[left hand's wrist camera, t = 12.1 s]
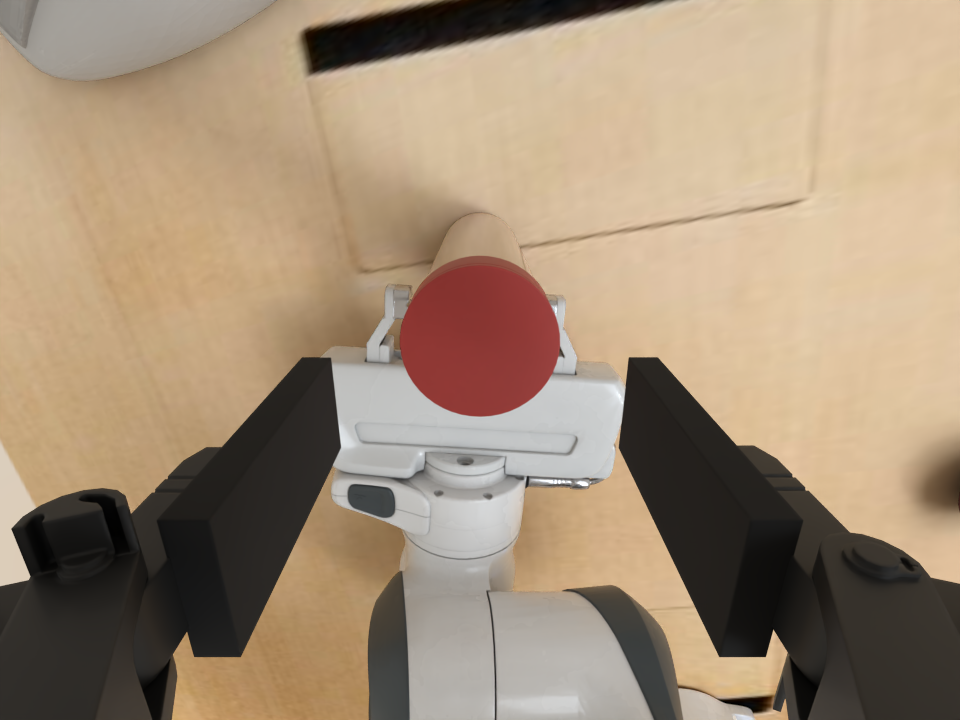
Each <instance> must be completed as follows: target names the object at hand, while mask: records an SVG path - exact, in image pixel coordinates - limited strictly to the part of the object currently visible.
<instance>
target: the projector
mask: <svg viewBox="0 0 960 720" xmlns="http://www.w3.org/2000/svg"><path fill="white" fill-rule="evenodd" d="M275 1H277V0H0V32H1V33H2V34H3V35H4V36H5V38H6V39H7V40H8V41H9V42H10V43H11V44H12V45H13V46H14V47H15V49H16V50H17V51H18V52H19V53H20V54H21V55H22V56H23V57H24V58H25V59H26V60H27V61H29V62H30V63H31V64H32V65H34V66H35V67H36V68H37V69H39V70H40V71H42V72H44V73H46V74H48V75H50V76H54V77H57V78H61V79H67V80H73V81H93V80H101V79H106V78H112V77H116V76H120V75H124V74H128V73H132V72H135V71H139V70H142V69H145V68H148V67H151V66H154V65H157V64H160V63H163V62H166V61H168V60H171V59H173V58H176V57H178V56H181V55H183V54H185V53H188V52H190V51H192V50H194V49H196V48H199V47H201V46H203V45H205V44H207V43H209V42H211V41H213V40H215V39H216V38H218V37H220V36H222V35H224V34H225V33H227V32H229V31H231V30H232V29H234V28H236V27H237V26H239V25H241V24H242V23H244V22H246V21H247V20H249V19H250V18H252V17H253V16H255V15H256V14H258V13H259V12H261V11H262V10H264V9H265V8H267V7H268V6H270V5H271V4H272V3H274V2H275Z"/></svg>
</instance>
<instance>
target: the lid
mask: <svg viewBox="0 0 960 720" xmlns="http://www.w3.org/2000/svg"><path fill="white" fill-rule="evenodd" d="M400 350H401V357H402V360H403V364H404V366H405V369H406V371H407V373H408V375H409V377H410V379H411V380H412V382H413V383H414V385H415V386H416V387H417V388H418V390H419V391H420V392H421V393H422V394H423V395H424V396H425V397H427V398H428V399H429V400H431V401H432V402H433V403H435V404H436V405H438V406H440V407H442V408H444V409H446V410H448V411H451V412H454V413H457V414H461V415H466V416H475V417H485V416H494V415H499V414H503V413H506V412H509V411H512V410H514V409H516V408H518V407H520V406H522V405H523V404H525V403H527V402H528V401H529V400H531V399H532V398H533V397H535V396H536V395H537V394H538V393H539V392H540V391H541V390H542V388H543V387H544V386H545V384H546V383H547V382H548V380H549V379H550V377H551V375H552V373H553V371H554V369H555V366H556V364H557V360H558V356H559V350H560V332H559V325H558V322H557V319H556V315H555V313H554V311H553V309H552V307H551V305H550V302H549V300H548V298H547V296H546V294H545V292H544V291H543V289H542V288H541V286H540V285H539V284H538V282H537V281H536V280H535V279H534V278H533V277H532V276H531V275H530V274H529V273H528V272H526V271H525V270H524V269H522V268H521V267H519V266H518V265H516V264H514V263H511V262H509V261H507V260H504V259H501V258H496V257H491V256H468V257H464V258H459V259H456V260H453V261H451V262H448V263H446V264H444V265H443V266H441V267H439V268H438V269H436V270H435V271H433V272H432V273H431V274H430V275H429V276H428V277H427V278H426V279H425V280H424V281H423V282H422V284H421V285H420V286H419V288H418V289H417V291H416V292H415V294H414V296H413V298H412V300H411V302H410V304H409V306H408V309H407V311H406V313H405V315H404V318H403V322H402V325H401V332H400Z"/></svg>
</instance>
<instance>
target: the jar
mask: <svg viewBox="0 0 960 720" xmlns="http://www.w3.org/2000/svg"><path fill="white" fill-rule="evenodd" d="M468 256H491V257H496V258H501V259H504V260H507V261H509V262H511V263H514V264H516V265H518V266H519V267H521V268H522V269H524V270H525V271H526V272H528V273H529V274H530V275H531V276H532V277H533V275H532V273H531V271H530V269H529V267H528V264H527V262H526V260H525V258H524V255H523V253H522V251H521V249H520V247H519V244H518V242H517V240H516V238H515V236H514V233H513V232H512V230H511V228H510V227H509V226H508V225H507V224H506V223H505V222H504V221H503V220H501V219H500V218H498V217H496V216H494V215H491V214H487V213H473V214H469V215H466V216H464V217H462V218H460V219H459V220H457V221H456V222H455V223H454V224H453V225H452V226H451V227H450V228H449V230H448V232H447V233H446V236H445V238H444V240H443V242H442V244H441V247H440V249H439V251H438V253H437V256H436V258H435V260H434V262H433V264H432V267H431V269H430V271H429V273H428V275H427V277H428V276H429V275H430V274H431V273H432V272H433V271H435V270H436V269H438V268H439V267H441V266H443V265H444V264H446V263H448V262H451V261H453V260H456V259H459V258H464V257H468Z"/></svg>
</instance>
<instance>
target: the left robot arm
mask: <svg viewBox="0 0 960 720" xmlns="http://www.w3.org/2000/svg"><path fill="white" fill-rule="evenodd" d="M340 449H341V441H340V432H339V424H338V415H337V406H336V397H335V388H334V379H333V370H332V361H331V357H302V358H301V359H300V361H299V362H298V363H297V364H296V365H295V366H294V367H293V368H292V370H291V371H290V372H289V373H288V374H287V375H286V376H285V377H284V378H283V380H282V381H281V382H280V383H279V384H278V385H277V386H276V387H275V388H274V390H273V391H272V392H271V393H270V394H269V395H268V396H267V397H266V399H265V400H264V401H263V402H262V403H261V404H260V405H259V406H258V407H257V409H256V410H255V411H254V412H253V413H252V414H251V415H250V416H249V418H248V419H247V420H246V421H245V422H244V423H243V424H242V425H241V426H240V428H239V429H238V430H237V431H236V432H235V433H234V434H233V435H232V436H231V438H230V439H229V440H228V441H227V442H226V443H225V444H224V445H223V447H206V448H204V449H203V450H201V451H199V452H198V453H196V454H194V455H192V456H191V457H189V458H187V459H186V460H184V461H183V462H182V463H181V464H180V465H179V466H178V467H177V468H176V469H175V470H174V471H173V472H172V473H171V474H170V475H169V476H168V479H165V480H164V481H163V482H162V483H161V484H160V485H159V486H158V487H157V488H156V489H155V493H151V494H150V495H149V496H148V497H147V498H146V499H145V500H144V501H143V502H142V503H141V504H140V505H139V506H138V507H137V509H136V510H135V511H134V512H133V513H132V514H131V513H130V509H129V506H128V503H127V499H126V496H125V495H123V494H122V493H121V492H119V491H118V490H112V489H104V488H101V489H91V490H83V491H79V492H76V493H72V494H68V495H65V496H61V497H59V498H57V499H54V500H52V501H50V502H47V503H45V504H43V505H41V506H39V507H37V508H36V509H34V510H33V511H31V512H30V513H28V514H26V515H25V516H23V517H22V518H21V519H20V520H19V521H18V522H17V523H16V524H15V526H14V527H13V528H12V532H13V534H14V536H15V539H16V542H17V544H18V546H19V549H20V551H21V554H22V556H23V559H24V561H25V564H26V566H27V569H28V571H29V574H30V576H31V577H30V579H29V580H28V581H23V582H18V583H14V584H9V585H5V586H0V720H172V713H173V705H174V697H175V690H176V682H177V671H176V664H175V661H174V657H173V653H174V651H175V650H176V648H177V647H178V645H179V643H180V642H181V640H182V639H183V637H184V635H185V634H186V632H188V636H189V640H190V643H191V647H192V650H193V654H194V657H241V655H242V653H243V651H244V649H245V647H246V645H247V643H248V641H249V639H250V636H251V634H252V632H253V630H254V628H255V626H256V624H257V622H258V620H259V618H260V616H261V614H262V612H263V609H264V607H265V605H266V603H267V601H268V599H269V597H270V595H271V593H272V591H273V589H274V587H275V584H276V582H277V580H278V578H279V576H280V574H281V572H282V570H283V568H284V566H285V564H286V562H287V560H288V557H289V555H290V553H291V551H292V549H293V547H294V545H295V543H296V541H297V539H298V537H299V535H300V532H301V530H302V528H303V526H304V524H305V522H306V520H307V518H308V516H309V514H310V512H311V510H312V508H313V505H314V503H315V501H316V499H317V497H318V495H319V493H320V491H321V489H322V487H323V485H324V483H325V480H326V478H327V476H328V474H329V472H330V470H331V468H332V466H333V464H334V462H335V460H336V458H337V456H338V453H339V451H340ZM619 449H620V451H621V453H622V456H623V458H624V460H625V462H626V464H627V466H628V468H629V470H630V472H631V474H632V476H633V478H634V480H635V483H636V485H637V487H638V489H639V491H640V493H641V495H642V497H643V499H644V501H645V503H646V505H647V508H648V510H649V512H650V514H651V516H652V518H653V520H654V522H655V524H656V526H657V528H658V530H659V532H660V535H661V537H662V539H663V541H664V543H665V545H666V547H667V549H668V551H669V553H670V555H671V557H672V560H673V562H674V564H675V566H676V568H677V570H678V572H679V574H680V576H681V578H682V580H683V582H684V584H685V587H686V589H687V591H688V593H689V595H690V597H691V599H692V601H693V603H694V605H695V607H696V609H697V612H698V614H699V616H700V618H701V620H702V622H703V624H704V626H705V628H706V630H707V632H708V634H709V636H710V639H711V641H712V643H713V645H714V647H715V649H716V651H717V653H718V655H719V657H766V654H767V650H768V647H769V643H770V640H771V636H772V632H773V629H774V631H775V633H776V634H777V636H778V637H779V639H780V641H781V642H782V644H783V645H784V647H785V649H786V650H787V652H788V654H787V657H786V661H785V664H784V667H783V671H782V674H781V677H780V681H779V684H778V688H777V691H776V694H775V698H774V704H773V709H774V710H777V711H779V712H781V709H782V706H783V703H784V699H786V703H787V711H788V719H789V720H960V584H958V583H953V582H948V581H944V580H939V579H934V578H930V576H929V575H928V573H927V572H926V571H925V570H924V568H923V567H922V566H921V565H920V563H918V562H917V561H916V560H914V559H913V558H912V557H910V556H909V555H908V554H906V553H905V552H904V551H902V550H900V549H898V548H896V547H894V546H892V545H890V544H888V543H886V542H884V541H882V540H879V539H876V538H872V537H869V536H866V535H863V534H856V533H850V532H849V531H848V530H847V529H846V528H845V527H844V526H843V525H842V524H841V523H840V522H839V521H838V520H837V519H836V518H835V517H834V516H833V515H832V514H831V513H830V512H829V511H828V510H827V509H826V508H825V507H824V506H823V505H822V504H821V503H820V502H819V501H818V500H817V499H816V498H815V497H814V496H813V495H812V494H811V493H810V492H809V491H806V490H805V487H804V486H803V485H802V484H801V483H800V482H799V481H798V480H797V479H796V478H793V477H792V474H791V473H790V472H789V471H788V470H787V469H786V468H785V467H784V466H783V465H782V464H781V463H780V462H779V461H778V460H777V459H776V458H774V457H773V456H771V455H769V454H768V453H766V452H764V451H762V450H761V449H759V448H757V447H755V446H737V445H736V444H735V443H734V442H733V441H732V440H731V439H730V438H729V436H728V435H727V434H726V433H725V432H724V431H723V430H722V429H721V428H720V426H719V425H718V424H717V423H716V422H715V421H714V420H713V419H712V418H711V416H710V415H709V414H708V413H707V412H706V411H705V410H704V409H703V407H702V406H701V405H700V404H699V403H698V402H697V401H696V400H695V399H694V397H693V396H692V395H691V394H690V393H689V392H688V391H687V390H686V388H685V387H684V386H683V385H682V384H681V383H680V382H679V381H678V380H677V378H676V377H675V376H674V375H673V374H672V373H671V372H670V371H669V370H668V368H667V367H666V366H665V365H664V364H663V363H662V362H661V361H660V359H659V358H658V357H629V361H628V370H627V379H626V388H625V397H624V406H623V415H622V424H621V432H620V441H619Z"/></svg>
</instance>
